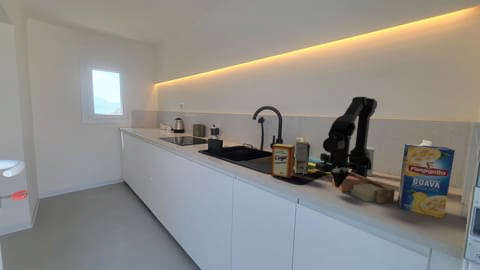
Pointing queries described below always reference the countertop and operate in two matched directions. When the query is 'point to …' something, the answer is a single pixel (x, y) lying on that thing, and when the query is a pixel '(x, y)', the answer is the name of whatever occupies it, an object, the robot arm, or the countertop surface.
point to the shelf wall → (378, 190)
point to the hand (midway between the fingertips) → (337, 187)
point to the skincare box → (371, 151)
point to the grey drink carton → (302, 157)
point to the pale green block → (365, 192)
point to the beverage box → (425, 179)
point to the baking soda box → (282, 160)
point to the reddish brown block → (347, 183)
